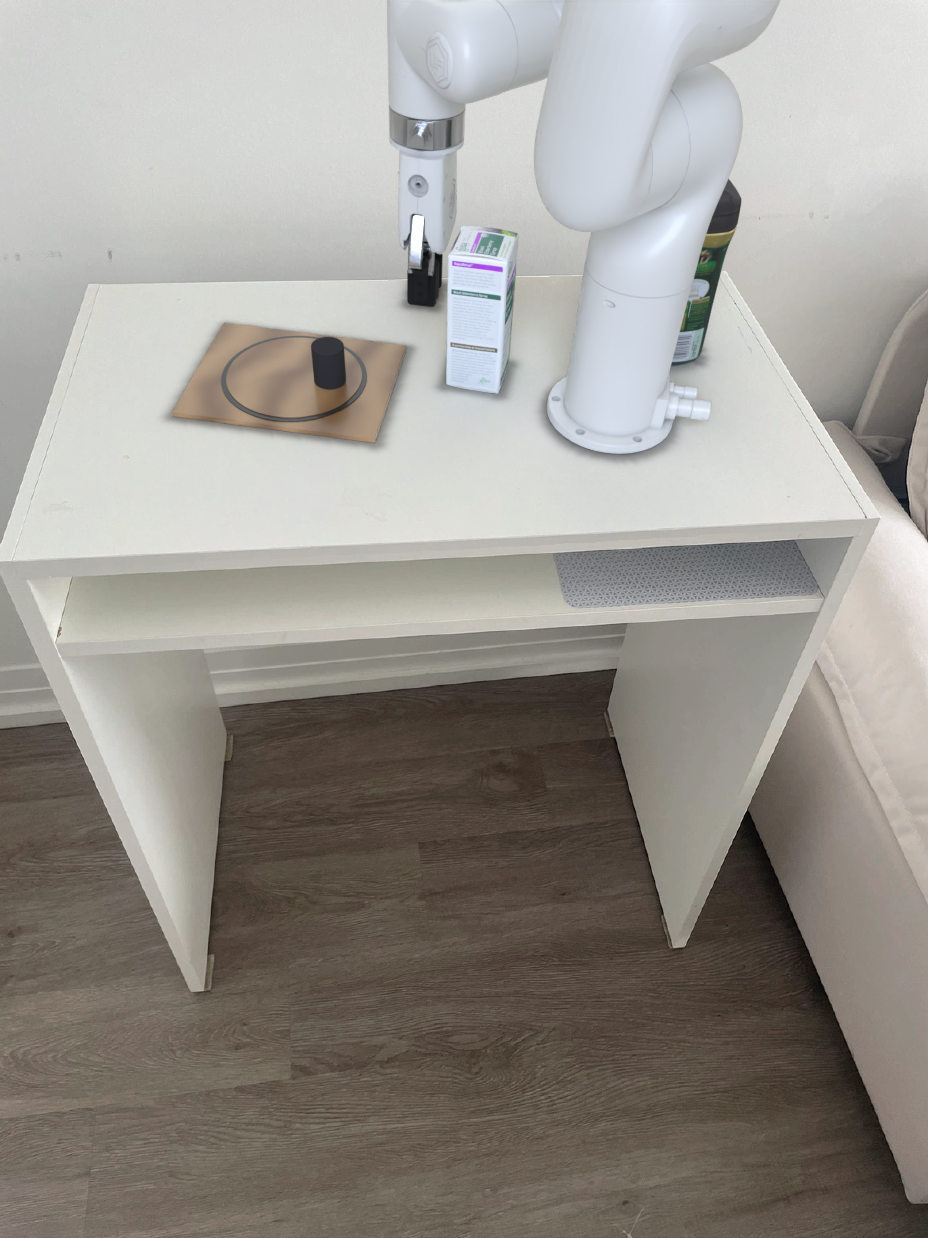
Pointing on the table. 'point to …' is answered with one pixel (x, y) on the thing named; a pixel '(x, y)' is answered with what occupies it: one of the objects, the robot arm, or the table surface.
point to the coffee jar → (707, 276)
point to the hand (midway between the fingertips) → (424, 293)
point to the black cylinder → (436, 269)
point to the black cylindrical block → (328, 363)
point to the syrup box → (480, 307)
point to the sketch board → (290, 384)
